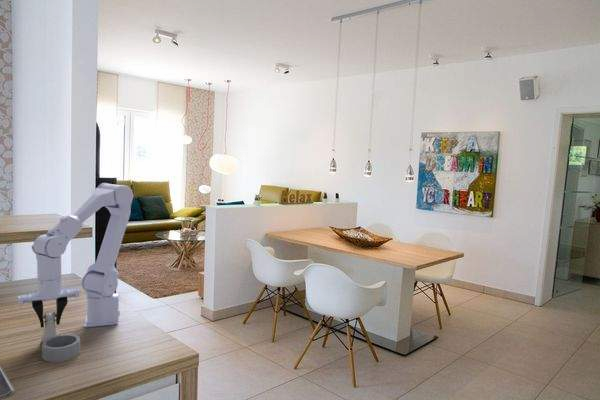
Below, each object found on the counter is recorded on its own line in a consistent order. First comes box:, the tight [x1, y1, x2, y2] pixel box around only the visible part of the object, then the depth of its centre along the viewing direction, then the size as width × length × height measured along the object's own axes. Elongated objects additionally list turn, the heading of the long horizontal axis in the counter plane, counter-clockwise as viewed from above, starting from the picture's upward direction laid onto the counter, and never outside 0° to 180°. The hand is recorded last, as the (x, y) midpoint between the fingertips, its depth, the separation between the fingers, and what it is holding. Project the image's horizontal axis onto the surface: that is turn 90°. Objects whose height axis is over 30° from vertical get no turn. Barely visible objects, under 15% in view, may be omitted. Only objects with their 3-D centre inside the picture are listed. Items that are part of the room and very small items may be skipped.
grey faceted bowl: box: [41, 333, 81, 363], centre depth 111 cm, size 9×9×4 cm
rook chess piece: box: [40, 310, 60, 343], centre depth 117 cm, size 4×4×8 cm
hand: (50, 324), depth 117 cm, fingers closed on rook chess piece, 3 cm apart
